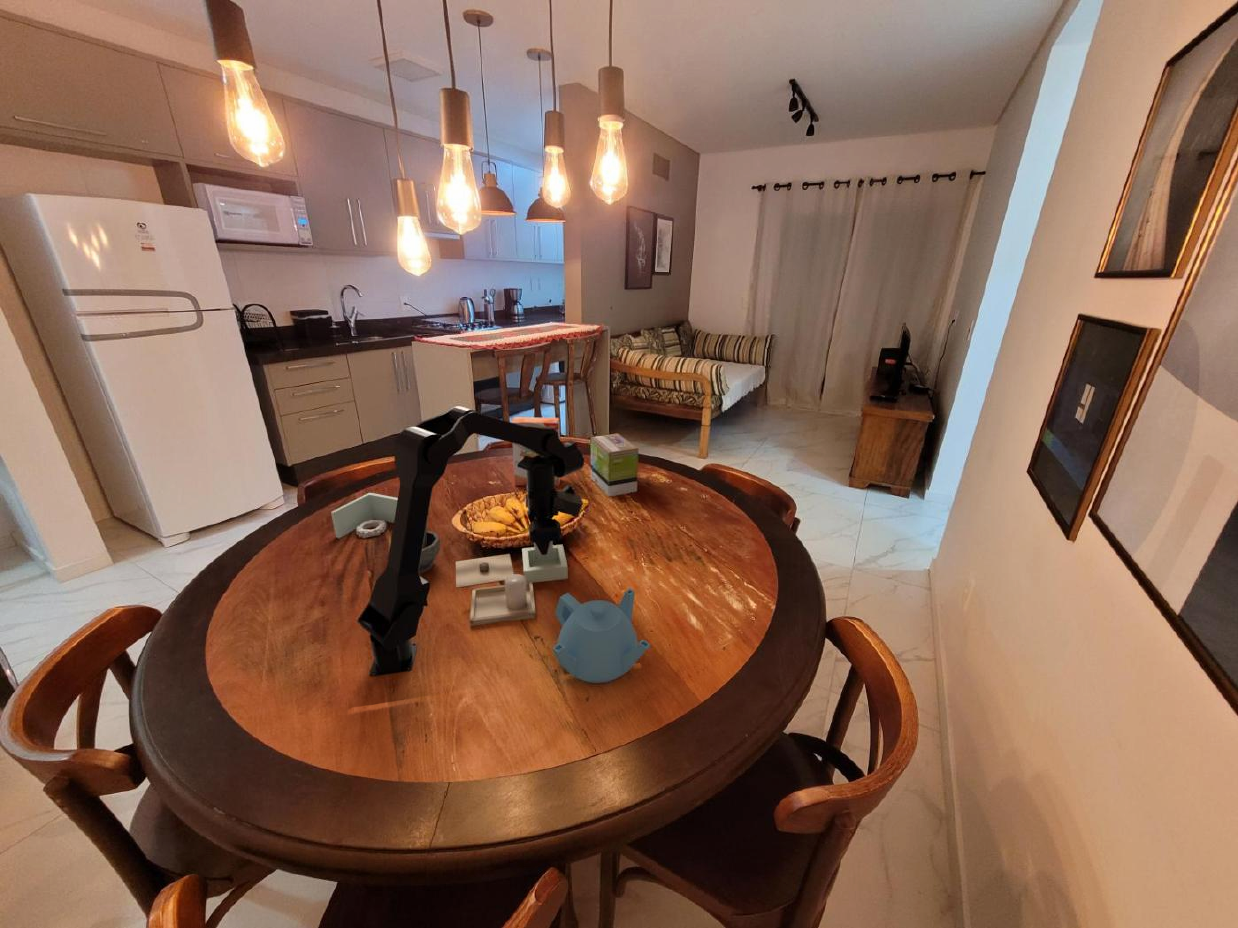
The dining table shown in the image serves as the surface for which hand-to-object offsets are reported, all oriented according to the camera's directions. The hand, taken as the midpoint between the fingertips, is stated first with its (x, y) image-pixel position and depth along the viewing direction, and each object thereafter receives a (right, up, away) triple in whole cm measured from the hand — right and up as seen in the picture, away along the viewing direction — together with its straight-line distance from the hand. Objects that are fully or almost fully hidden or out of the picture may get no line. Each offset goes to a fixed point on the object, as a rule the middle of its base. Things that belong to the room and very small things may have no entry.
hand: (543, 549), depth 105 cm
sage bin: (0, -5, +2) cm, 6 cm away
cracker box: (-9, +12, +47) cm, 49 cm away
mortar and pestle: (-28, -4, +3) cm, 28 cm away
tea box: (+15, +12, +47) cm, 50 cm away
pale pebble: (-4, -9, -9) cm, 14 cm away
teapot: (+13, -15, -22) cm, 29 cm away
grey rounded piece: (0, -2, +1) cm, 2 cm away
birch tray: (-6, -10, -10) cm, 15 cm away
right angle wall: (-46, +1, +17) cm, 49 cm away
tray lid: (-13, -5, +1) cm, 14 cm away
